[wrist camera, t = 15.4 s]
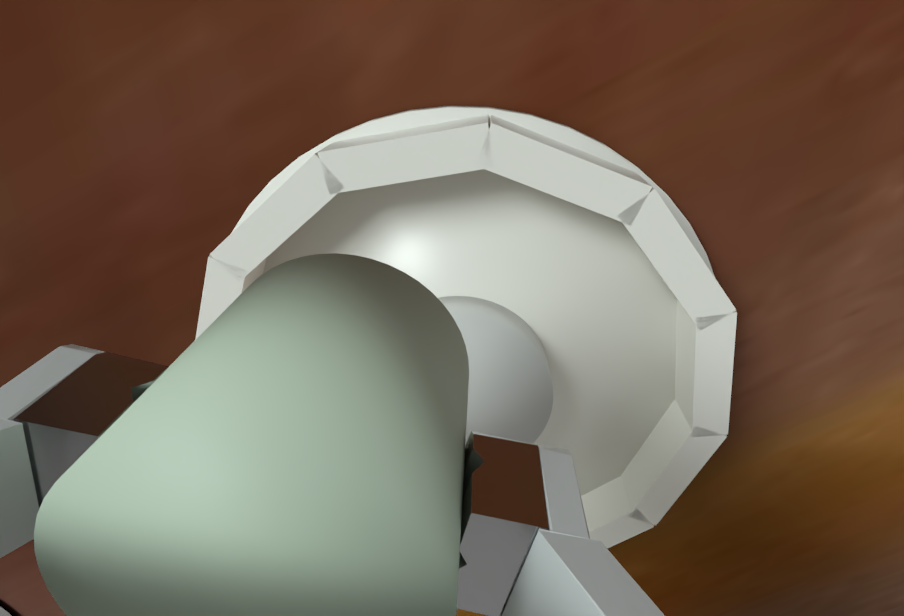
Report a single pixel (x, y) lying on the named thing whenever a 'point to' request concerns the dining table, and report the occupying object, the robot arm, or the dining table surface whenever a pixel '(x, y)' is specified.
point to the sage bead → (279, 462)
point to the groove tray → (526, 287)
